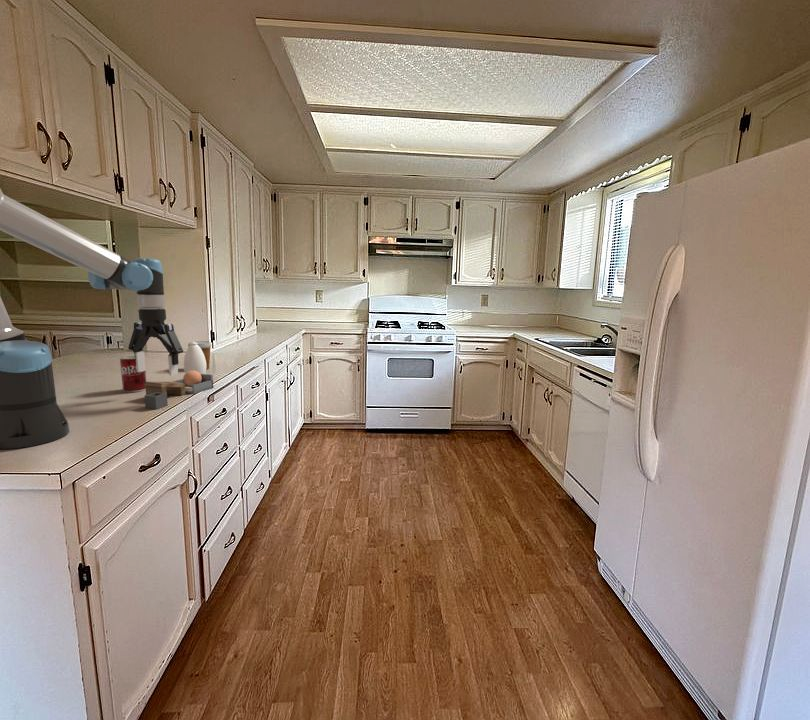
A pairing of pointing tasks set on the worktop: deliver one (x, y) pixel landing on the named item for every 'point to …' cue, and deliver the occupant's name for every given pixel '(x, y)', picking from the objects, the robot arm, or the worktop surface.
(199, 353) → the sauce bottle
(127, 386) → the soda can
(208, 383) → the tray
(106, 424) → the worktop surface
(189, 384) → the ball
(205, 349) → the disposable coffee cup
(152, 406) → the grey cube with hole
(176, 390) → the ramp
